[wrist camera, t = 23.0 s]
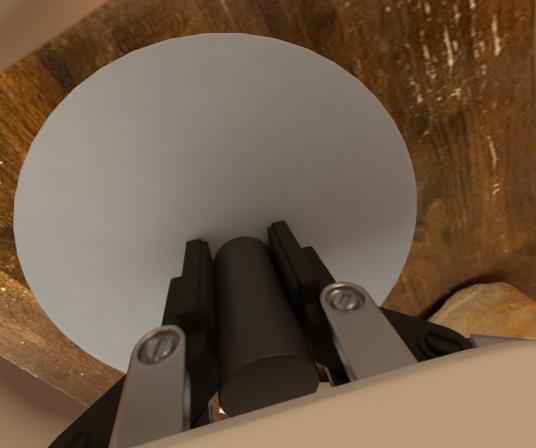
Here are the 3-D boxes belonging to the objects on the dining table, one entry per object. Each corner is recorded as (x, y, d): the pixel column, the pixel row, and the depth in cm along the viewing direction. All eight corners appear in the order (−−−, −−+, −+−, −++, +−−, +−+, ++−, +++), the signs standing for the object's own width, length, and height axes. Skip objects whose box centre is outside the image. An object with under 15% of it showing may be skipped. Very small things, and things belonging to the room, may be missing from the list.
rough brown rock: (399, 379, 54) (466, 472, 42) (367, 347, 45) (440, 453, 33) (499, 309, 52) (602, 384, 39) (485, 261, 43) (612, 338, 30)
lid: (-53, 18, 7) (-1090, -279, 1) (444, 54, 10) (755, 3, 4) (90, 390, 14) (7, 604, 8) (367, 347, 17) (451, 480, 11)
